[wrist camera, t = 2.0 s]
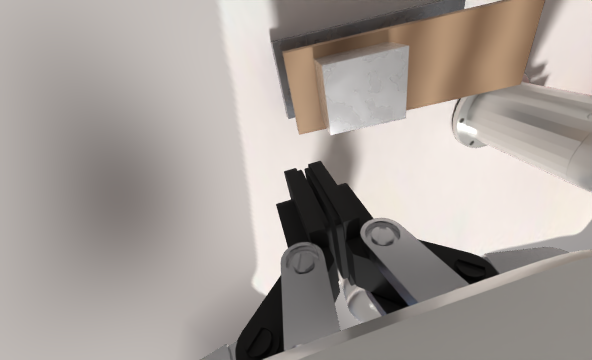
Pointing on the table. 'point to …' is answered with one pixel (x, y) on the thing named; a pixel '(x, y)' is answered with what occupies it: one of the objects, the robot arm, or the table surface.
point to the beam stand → (449, 3)
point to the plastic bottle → (358, 302)
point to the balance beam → (432, 56)
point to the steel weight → (363, 86)
